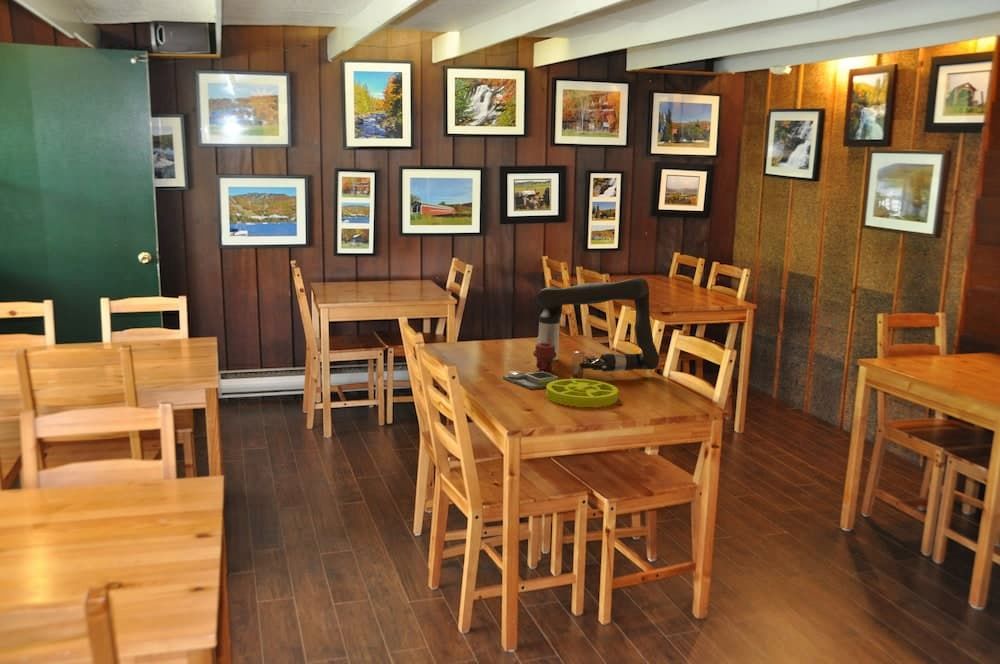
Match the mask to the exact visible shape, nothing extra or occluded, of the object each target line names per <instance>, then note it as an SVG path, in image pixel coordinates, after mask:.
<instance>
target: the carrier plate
mask: <svg viewBox="0 0 1000 664" xmlns="http://www.w3.org/2000/svg"><path fill="white" fill-rule="evenodd" d="M503 378H504V379H503ZM502 379H503V380H505V379H506V380H505V381H508V380H509V381H508V382H510V381H511V382H510V383H513V382H514V383H513V384H515V383H516V385H518V384H519V386H521V387H523V386H524V387H523V388H526V389H528V388H529V390H531V389H534V390H539V389H538V388H540V389H546V388H545V387H546V386H547V384H548V383H550V382H553V381H556V380H559V376H557V375H554V374H552V373H550V372H548V371H545V372H544V371H542V372H539V371H533V370H532V371H527V372H524V371H522V370H521V371H520V370H510V371H508V372H507V374H506V375H505V374H504V375H502Z"/></svg>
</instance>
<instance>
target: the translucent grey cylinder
mask: <svg viewBox="0 0 1000 664" xmlns="http://www.w3.org/2000/svg"><path fill="white" fill-rule="evenodd" d="M585 353H586V352H585V351H583V350H573V351H572V367H571V369H572V370H571V375H570V378H569V379H585V376H584V371H585V369H582V368H581V363H584V361H585V359H584V357H585Z"/></svg>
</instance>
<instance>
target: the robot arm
mask: <svg viewBox="0 0 1000 664" xmlns="http://www.w3.org/2000/svg"><path fill="white" fill-rule="evenodd" d="M649 287H650V286H649V283H648V282H647V280H646V279H645V278H642V277H635V278H634V277H633V278H629V279H625V280H622V281H617V282H616V281H615V282H603V281H602V282H601V281H599V282H586V283H580V284H576V285H572V286H568V287H565V288H564V287H563V288H559V287H558V286H549V287H544V288H542V289H540V291H539V292H538V293H537V295H536V302H537V303H538V305H539V306H540V307H542V308H543V310H542V312H541V314H540V315H539V316H538V317H539V320H538V336H537V338H536V344H540V343H541V342H548V343H550V344H553V345H555V352H556V357H555V358H553V362H554V361H557V360H558V357H559V356H558V354H559V339H560V338H559V337H560V336H559V335H560V334H559V333H560V321H561V317H562V312H563V306H566V305H567V306H568V305H571V306H572V305H575V306H576V305H594V304H600V303H605V302H609V301H617V300H621V301H622V300H623V301H633V302H634V306H635V320H634V321H635V322H634V333H635V338H636V344H637V347H638V348H639V349H640V350H641V352H642V353H602V354H601V355H600V358H598V357H595V356H594V355H592V356H591V355H590V356H584V363H581V368H582V369H584V370H586V369H588V370H589V369H590V370H592V371H602V372H605V373H606V372H607V373H608V372H609V373H610V372H621V371H633V370H654V369H657V368H658V367H659V364H660V356H659V353H658V350H657V347H656V345H655V343H654V335H653V331H652V330H653V329H652V325H651V324H652V323H651V316H650V315H651V314H650V288H649Z"/></svg>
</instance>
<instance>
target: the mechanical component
mask: <svg viewBox="0 0 1000 664" xmlns="http://www.w3.org/2000/svg"><path fill="white" fill-rule="evenodd" d="M533 356H534V357H535V358H536V365H535V367H536V368H537V369H538V372H542V371H545V372H552V371H553V362H554V361H553V358H555V357H556V352H555V345H553V344H550V343H548V342H541V343H540V344H537V343H536V344H535V349H534V351H533Z"/></svg>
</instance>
